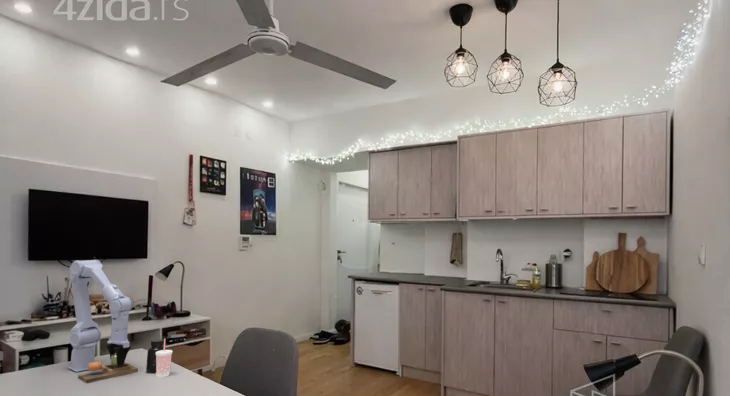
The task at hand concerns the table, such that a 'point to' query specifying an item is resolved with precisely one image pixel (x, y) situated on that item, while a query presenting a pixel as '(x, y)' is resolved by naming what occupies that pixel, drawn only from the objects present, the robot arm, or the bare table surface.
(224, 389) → the table surface
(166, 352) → the beverage cup
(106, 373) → the board
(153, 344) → the supplement bottle
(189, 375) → the table surface
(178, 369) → the table surface
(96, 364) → the button
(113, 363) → the cell
